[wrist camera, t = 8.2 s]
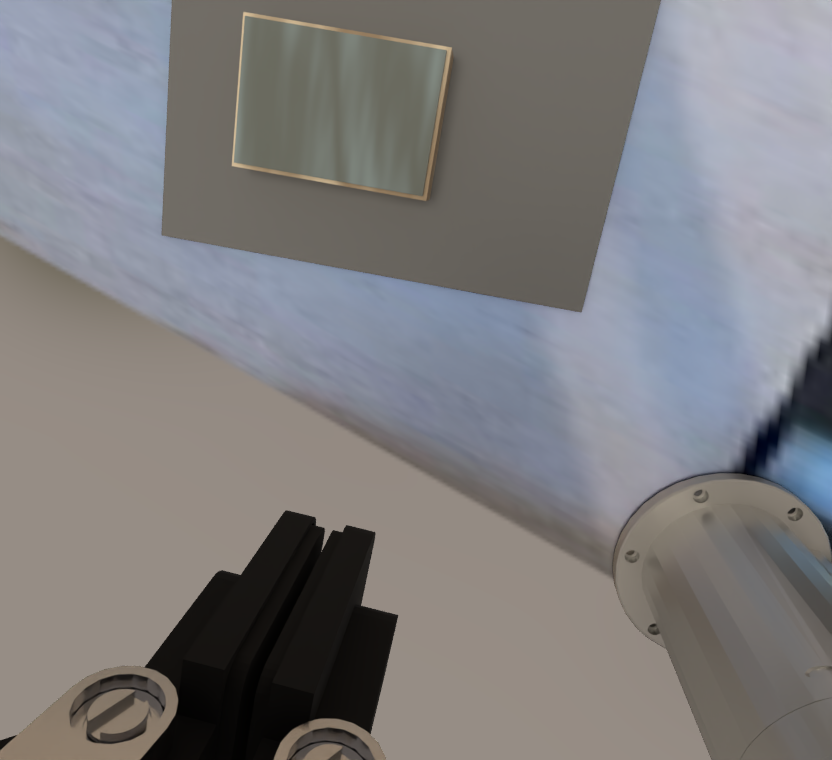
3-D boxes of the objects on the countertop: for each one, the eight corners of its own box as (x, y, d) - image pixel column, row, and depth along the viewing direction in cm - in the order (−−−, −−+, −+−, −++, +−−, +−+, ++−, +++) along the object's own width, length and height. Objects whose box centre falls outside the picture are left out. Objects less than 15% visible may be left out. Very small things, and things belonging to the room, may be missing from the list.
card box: (451, 46, 30) (241, 10, 30) (425, 201, 32) (229, 165, 32) (453, 57, 32) (260, 23, 33) (429, 199, 34) (248, 167, 35)
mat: (660, -9, 31) (664, -13, 31) (579, 310, 36) (581, 312, 36) (181, -89, 32) (176, -94, 31) (166, 234, 37) (161, 235, 36)
